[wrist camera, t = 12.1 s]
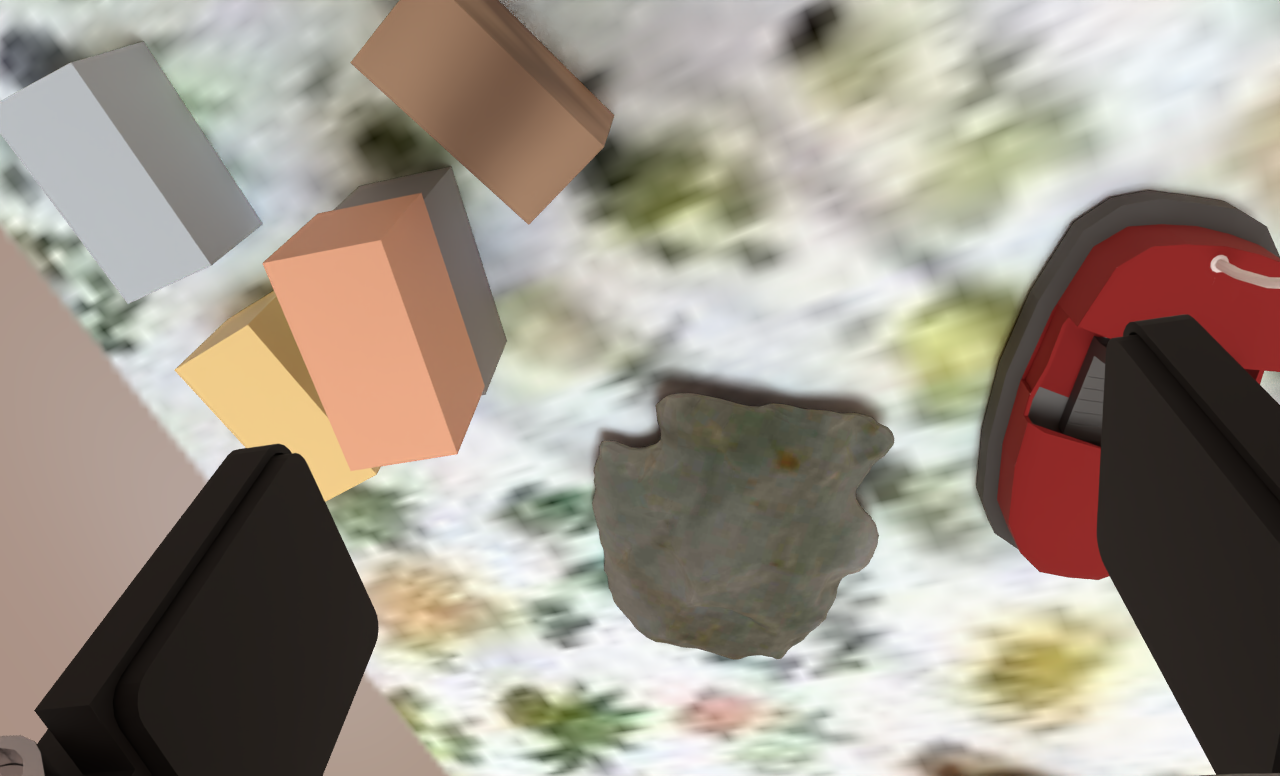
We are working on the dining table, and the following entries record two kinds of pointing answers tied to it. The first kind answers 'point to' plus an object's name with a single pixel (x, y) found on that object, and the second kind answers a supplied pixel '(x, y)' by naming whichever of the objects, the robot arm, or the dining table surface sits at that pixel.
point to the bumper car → (1076, 352)
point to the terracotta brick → (380, 331)
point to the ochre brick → (269, 392)
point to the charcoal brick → (451, 255)
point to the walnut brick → (488, 96)
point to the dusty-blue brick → (128, 169)
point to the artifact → (736, 521)
